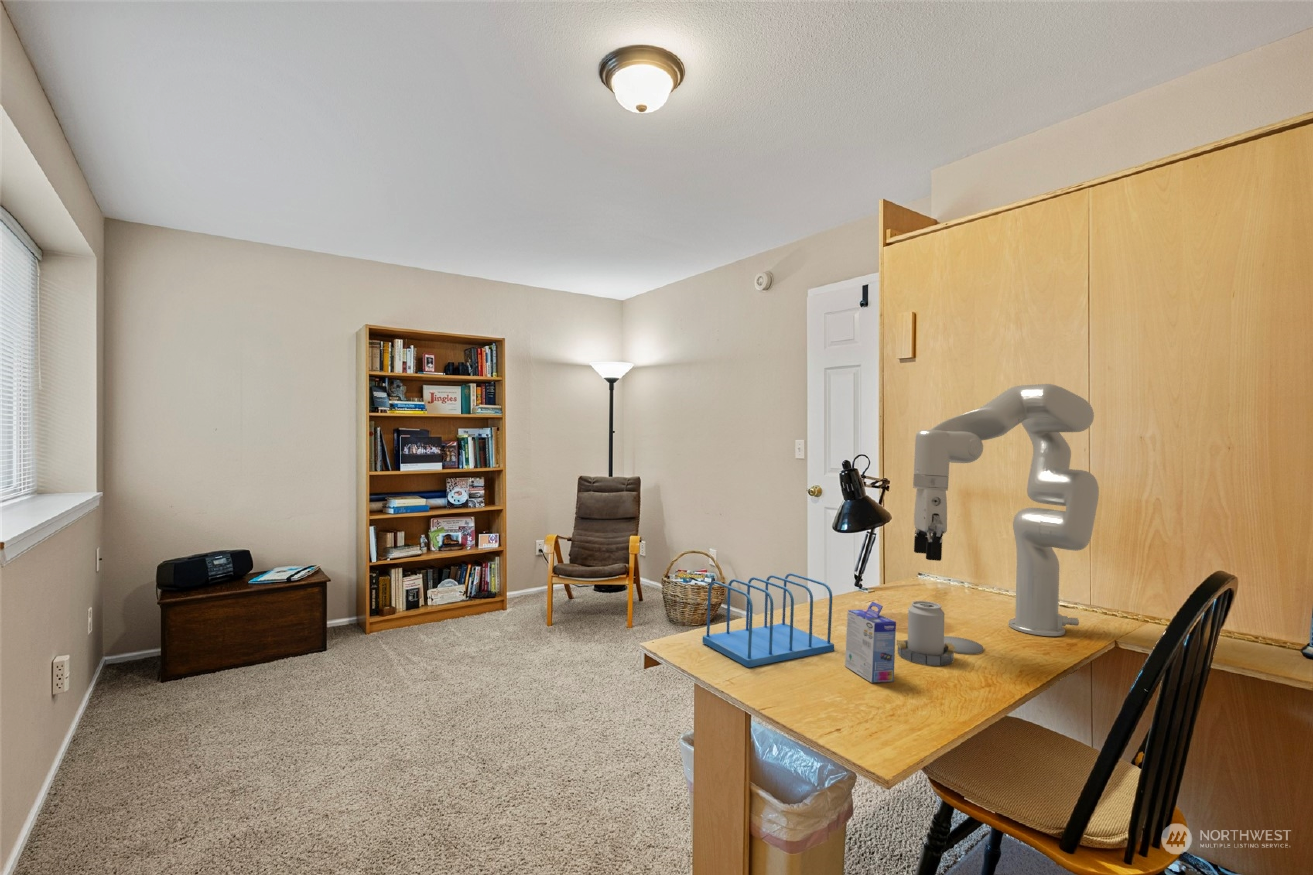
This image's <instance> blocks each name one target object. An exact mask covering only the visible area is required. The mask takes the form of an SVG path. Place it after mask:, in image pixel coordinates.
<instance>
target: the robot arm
mask: <svg viewBox="0 0 1313 875" xmlns="http://www.w3.org/2000/svg"><path fill="white" fill-rule="evenodd" d="M1094 418H1095V414H1094V409H1093V407H1092V405H1091V403H1089V401H1088V400H1086V399H1085V398H1083V397H1081V396H1080V395H1078V394H1075V393H1074V392H1071V391H1070V390H1068V389H1066V388H1064V387H1062V386H1059V385H1057V384H1051V383H1040V384H1039V383H1038V384H1021V385H1016V386H1013V387H1010V388H1007V390H1004V391H1003V392H1002V393H1000V394H999V395H997V396H996V397H995V398H993V399H991V400H990V401H989V402H987V403H986V404H983V406H980V407H979V408H976V409H973V410H970V411H967V412H964V413H962V414H958V415H956V416H952V417H951V418H948V419H946V420H944V421H941V422H940V423H938V424H937V425H935V426H933V427H932V428H930V429H923V430H919V431H917V433H916V434H915V440H914V460H913V461H914V462H913V478H912V479H913V480H912V488H913V489H916V492H915V502H914V513H913V514H914V516H913V518H914V519H913V522H914V523H913V525H914V528H915V531H914V543H913V552H914V553H915V554H924V555H925V559H926V561H935V562H936V561H938V562H940V561H941V560H942V557H943V556H942V555H943V554H942V553H943V551H942V550H943V536H944V534H947V532H948V502H947V501H948V500H947V492H948V491H949V480H950V479H949V476H950V475H949V474H950V463H954V464H968V463H973V462H975V461H977V460H978V459H979V458H980V457H981V456H982V454H983V451H984V444H983V441H987V440H992V439H996V438H999V437H1002V436H1004V435H1006V434H1007V433H1008V432H1010V431H1011V430H1012V429H1014V428H1016V426H1018V425H1020V424H1021V425H1022V427H1023V429H1024V430H1025V431H1026V433H1027V434H1028V437H1029V439H1030V441H1031V445H1032V459H1031V464H1030V469H1029V474H1028V479H1027V485H1026V486H1027V487H1026V492H1027V496H1028V498H1029V499H1030V500H1031V501H1033V502H1034V503H1038V504H1043V505H1052V506H1062V507H1066V508H1065V510H1057V509H1053V508H1052V509H1051V508H1042V507H1027V508H1022V509H1021V510H1018V512H1017V513H1016V514H1015V516H1014V517H1013V521H1012V529H1013V533H1014V539H1015V540H1014V541H1015V545H1016V575H1015V576H1016V577H1015V579H1016V580H1015V582H1016V583H1015V618H1010V619H1009V620H1008V626H1009V627H1010V628H1011V629H1013V630H1016V631H1019V632H1022V633H1026V634H1029V635H1035V636H1043V637H1061V636H1064V635H1065V634H1066V629H1065V628H1064V627H1065V626H1066V625H1067V626H1079V625H1080V621H1079V618H1078V617H1068V616H1067V615H1062V614H1060V613H1059V602H1060V601H1059V600H1060V599H1059V597H1060V596H1059V594H1060V562H1059V558H1058V556H1057V554H1056V553H1055V551H1054V549H1055V548H1056V549H1062V550H1066V551H1067V550H1068V551H1074V552H1075V551H1082V550H1084V549H1085V548H1086V547H1087V546H1088V545H1089V543H1090V542H1091V539H1092V535H1093V532H1094V531H1093V530H1094V524H1095V519H1096V515H1097V514H1096V513H1097V508H1098V502H1099V495H1100V487H1099V483H1098V480H1097V479H1096V477H1095V476H1094V474H1092V473H1091V472H1089V471H1087V470H1083V469H1073V468H1071V469H1070V467H1071V466H1070V465H1071V457H1072V450H1071V447H1070V445H1069V443H1068V442H1067V440H1066V439H1065V438H1064V436H1063V435H1062V433H1080V432H1085V431H1086V430H1088V429H1089V428H1090V427H1091V425H1092V424H1093V422H1094Z"/></svg>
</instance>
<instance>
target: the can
mask: <svg viewBox="0 0 1313 875" xmlns="http://www.w3.org/2000/svg"><path fill="white" fill-rule="evenodd" d="M907 611H908V612H907V614H908V615H907V616H908V617H907V619H908V620H907V640H908V649H909V650H912V651H914V652H918V653H923V654H930V655H940V654H944V636H945V611H944V610H943V609H942V605H941V604H940V603H937V602H933V601H928V600H914V601H912V602H911V606H909V607H908V610H907Z"/></svg>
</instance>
